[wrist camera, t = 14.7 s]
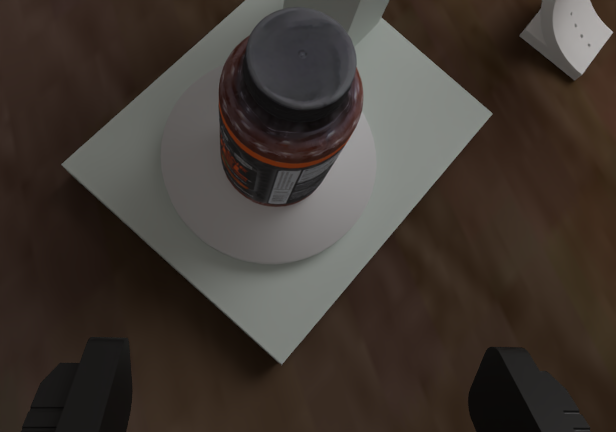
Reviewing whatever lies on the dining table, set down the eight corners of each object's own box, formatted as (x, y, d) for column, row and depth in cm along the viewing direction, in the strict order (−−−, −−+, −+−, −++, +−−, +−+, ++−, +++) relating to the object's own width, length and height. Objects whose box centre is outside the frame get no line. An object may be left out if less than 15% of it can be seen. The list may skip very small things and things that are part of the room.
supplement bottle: (201, 133, 29) (185, 10, 18) (296, 93, 31) (335, -44, 20) (250, 229, 28) (264, 160, 17) (345, 183, 30) (414, 92, 19)
